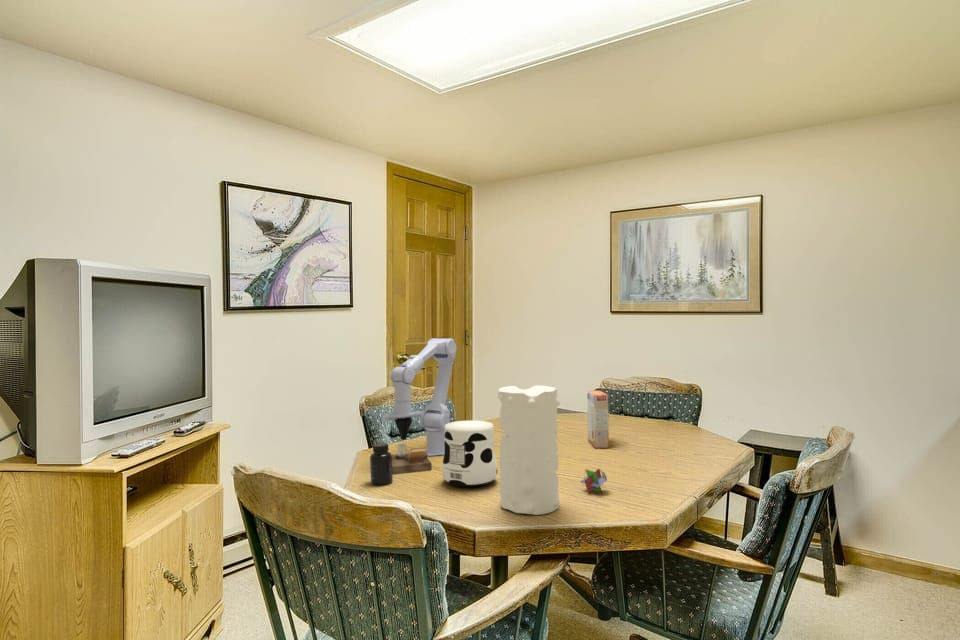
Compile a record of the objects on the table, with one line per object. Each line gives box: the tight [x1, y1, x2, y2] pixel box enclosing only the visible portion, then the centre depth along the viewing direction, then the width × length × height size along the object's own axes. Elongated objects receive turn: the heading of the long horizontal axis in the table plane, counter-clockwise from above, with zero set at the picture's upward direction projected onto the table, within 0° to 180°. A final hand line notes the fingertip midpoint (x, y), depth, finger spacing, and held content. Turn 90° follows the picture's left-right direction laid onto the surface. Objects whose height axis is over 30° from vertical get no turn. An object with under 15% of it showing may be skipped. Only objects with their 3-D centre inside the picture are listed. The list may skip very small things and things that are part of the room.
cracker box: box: [586, 390, 610, 449], centre depth 216 cm, size 14×6×21 cm, turn 179°
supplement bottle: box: [369, 442, 394, 487], centre depth 169 cm, size 7×7×12 cm
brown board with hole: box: [391, 452, 433, 475], centre depth 188 cm, size 14×16×4 cm
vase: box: [497, 384, 561, 516], centre depth 146 cm, size 17×16×32 cm
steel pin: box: [397, 443, 407, 459], centre depth 191 cm, size 3×3×7 cm
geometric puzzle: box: [580, 468, 608, 494], centre depth 157 cm, size 7×7×8 cm
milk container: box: [441, 420, 498, 488], centre depth 168 cm, size 17×17×18 cm
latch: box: [409, 447, 427, 460], centre depth 185 cm, size 5×6×1 cm
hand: (403, 439), depth 190 cm, fingers closed
